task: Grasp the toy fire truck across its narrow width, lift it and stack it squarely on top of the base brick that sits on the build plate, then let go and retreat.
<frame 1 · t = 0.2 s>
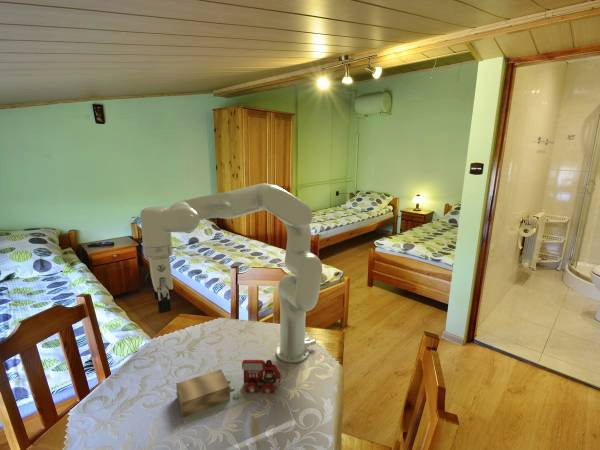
hand: (162, 304, 96), 31 cm above the table, fingers open, 9 cm apart
base brick: (203, 398, 99), resting on build plate
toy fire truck: (261, 389, 106), on the table
build plate: (210, 399, 101), on the table
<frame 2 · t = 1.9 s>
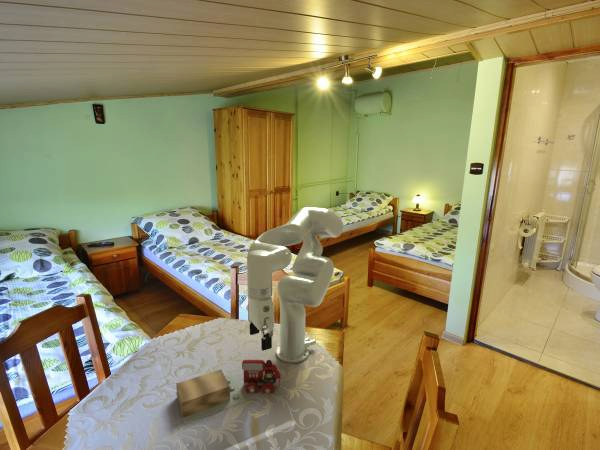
hand: (260, 341, 102), 17 cm above the table, fingers open, 9 cm apart
nothing on the table moved.
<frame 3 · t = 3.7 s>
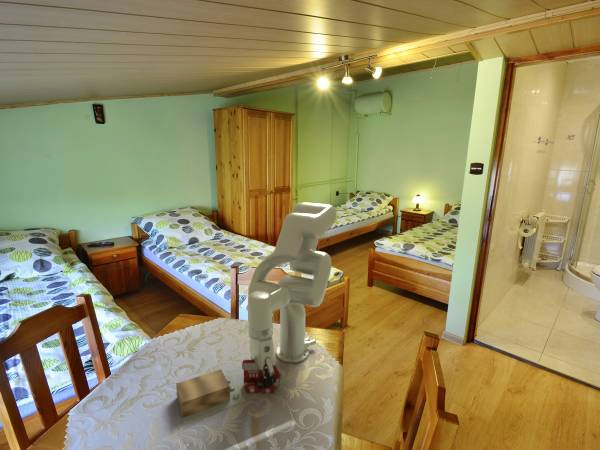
hand: (261, 377, 105), 4 cm above the table, fingers closed on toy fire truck, 8 cm apart
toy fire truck: (261, 389, 106), on the table, touching gripper
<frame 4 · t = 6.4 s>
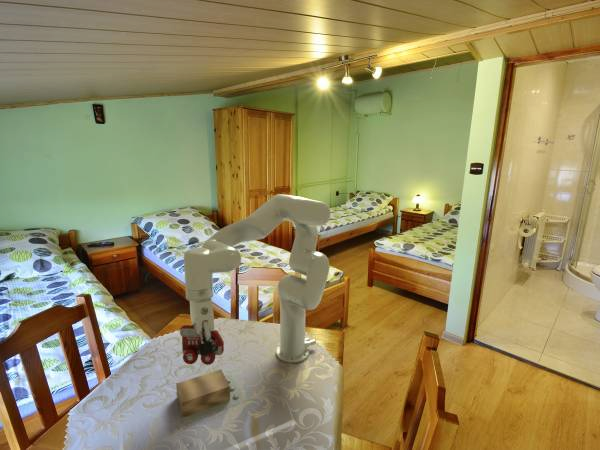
hand: (202, 345, 96), 20 cm above the table, fingers closed on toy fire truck, 8 cm apart
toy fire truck: (202, 358, 96), point 15 cm above the table, touching gripper
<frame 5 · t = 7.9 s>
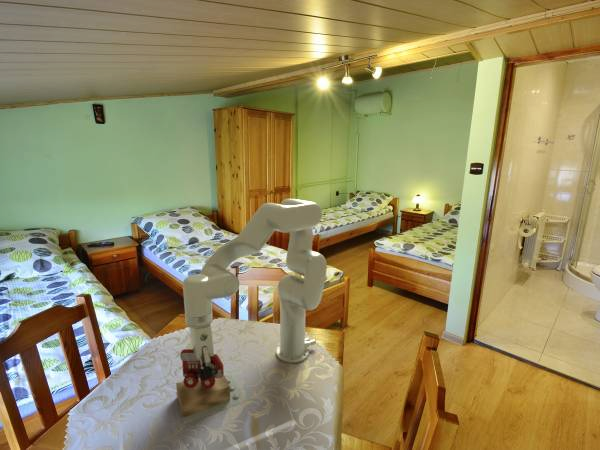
hand: (202, 369, 97), 12 cm above the table, fingers closed on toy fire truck, 8 cm apart
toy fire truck: (203, 381, 98), point 7 cm above the table, touching gripper
when the fingers open (11 cm above the table, at t = 8.9 s): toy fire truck drops 1 cm, resting on base brick.
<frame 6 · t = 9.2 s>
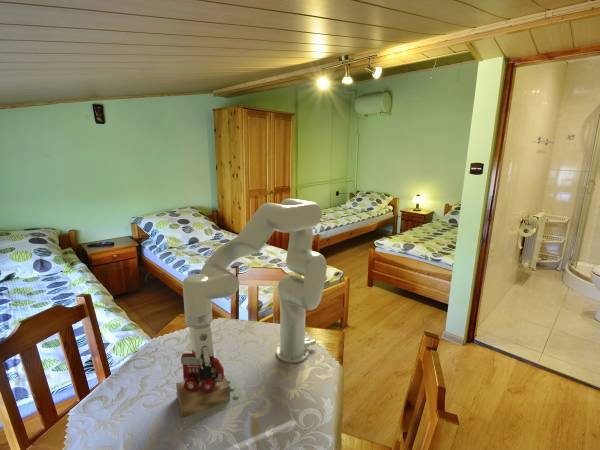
hand: (201, 368, 97), 12 cm above the table, fingers open, 9 cm apart
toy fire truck: (203, 385, 99), point 6 cm above the table, touching base brick
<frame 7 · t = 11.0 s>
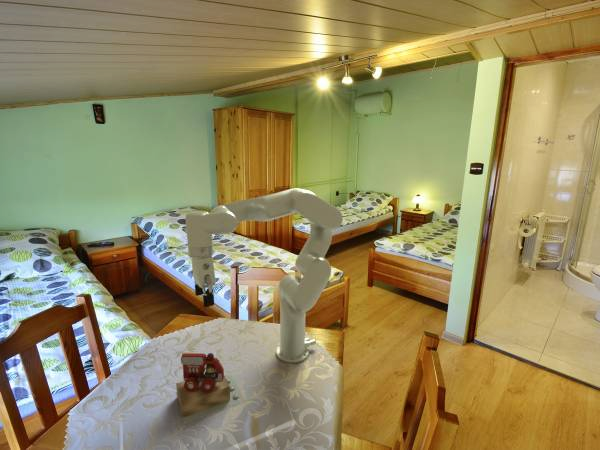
hand: (204, 300, 106), 28 cm above the table, fingers open, 9 cm apart
nothing on the table moved.
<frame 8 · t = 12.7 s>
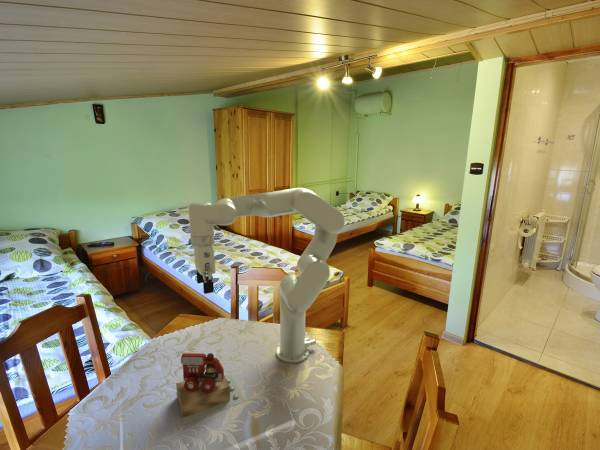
hand: (205, 287, 110), 30 cm above the table, fingers open, 9 cm apart
nothing on the table moved.
at the end: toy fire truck inside the target area on the base brick (0.2 cm from its centre), point 4.8 cm above the base brick's base; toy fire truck tilted 0°; the gripper is holding nothing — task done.
